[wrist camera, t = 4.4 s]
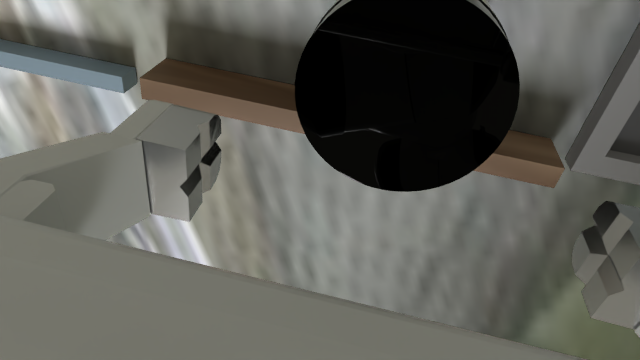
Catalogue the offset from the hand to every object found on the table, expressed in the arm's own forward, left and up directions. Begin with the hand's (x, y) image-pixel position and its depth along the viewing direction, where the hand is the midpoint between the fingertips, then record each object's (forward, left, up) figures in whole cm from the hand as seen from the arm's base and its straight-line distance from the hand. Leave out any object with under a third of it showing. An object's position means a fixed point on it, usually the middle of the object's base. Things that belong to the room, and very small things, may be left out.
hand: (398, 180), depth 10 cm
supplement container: (0, 0, -15) cm, 15 cm away
